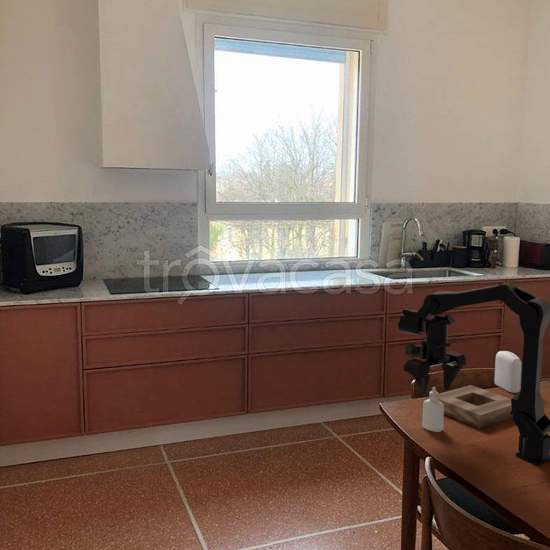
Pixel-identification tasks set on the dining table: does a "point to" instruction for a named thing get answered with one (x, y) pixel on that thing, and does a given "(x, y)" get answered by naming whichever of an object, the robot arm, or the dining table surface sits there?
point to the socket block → (476, 406)
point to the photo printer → (508, 371)
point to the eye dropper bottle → (433, 412)
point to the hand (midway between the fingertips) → (434, 393)
